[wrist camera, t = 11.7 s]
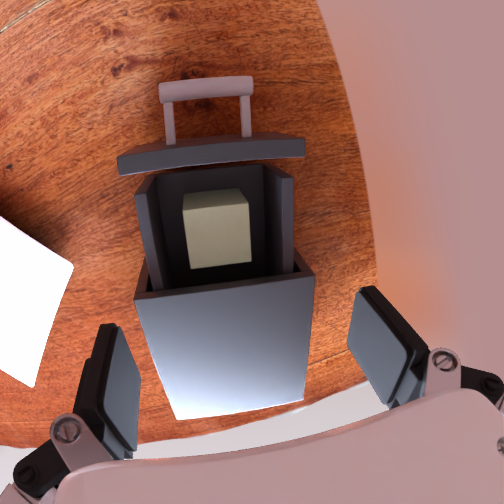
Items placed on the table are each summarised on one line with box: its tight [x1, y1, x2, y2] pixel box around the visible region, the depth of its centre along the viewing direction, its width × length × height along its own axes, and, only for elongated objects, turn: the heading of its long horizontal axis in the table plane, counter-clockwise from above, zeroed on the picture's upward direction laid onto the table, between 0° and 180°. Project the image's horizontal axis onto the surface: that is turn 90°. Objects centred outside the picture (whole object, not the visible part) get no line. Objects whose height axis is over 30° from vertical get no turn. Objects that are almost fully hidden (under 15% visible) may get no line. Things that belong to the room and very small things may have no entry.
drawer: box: [117, 76, 305, 291], centre depth 22 cm, size 18×11×7 cm, turn 3°
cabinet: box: [134, 247, 315, 420], centre depth 27 cm, size 15×13×9 cm
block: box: [183, 188, 251, 269], centre depth 23 cm, size 4×4×4 cm
